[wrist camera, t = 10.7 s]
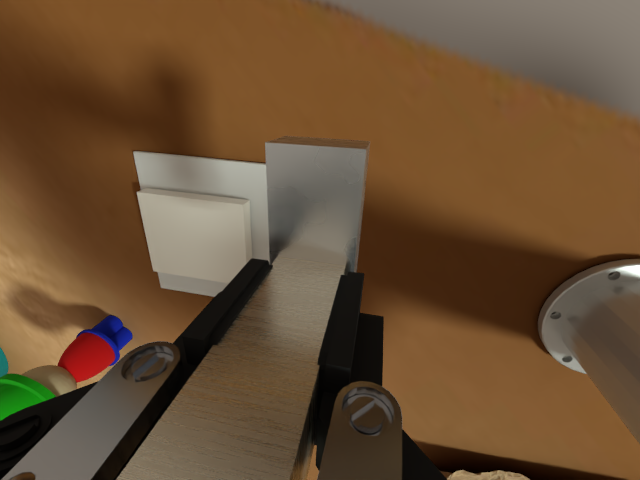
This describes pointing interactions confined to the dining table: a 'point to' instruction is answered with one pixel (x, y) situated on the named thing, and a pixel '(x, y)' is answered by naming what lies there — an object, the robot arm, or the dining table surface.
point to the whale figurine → (3, 364)
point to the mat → (213, 181)
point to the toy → (65, 367)
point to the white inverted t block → (270, 331)
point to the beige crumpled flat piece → (484, 475)
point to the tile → (196, 233)
